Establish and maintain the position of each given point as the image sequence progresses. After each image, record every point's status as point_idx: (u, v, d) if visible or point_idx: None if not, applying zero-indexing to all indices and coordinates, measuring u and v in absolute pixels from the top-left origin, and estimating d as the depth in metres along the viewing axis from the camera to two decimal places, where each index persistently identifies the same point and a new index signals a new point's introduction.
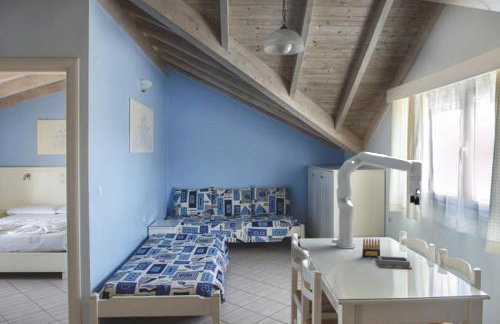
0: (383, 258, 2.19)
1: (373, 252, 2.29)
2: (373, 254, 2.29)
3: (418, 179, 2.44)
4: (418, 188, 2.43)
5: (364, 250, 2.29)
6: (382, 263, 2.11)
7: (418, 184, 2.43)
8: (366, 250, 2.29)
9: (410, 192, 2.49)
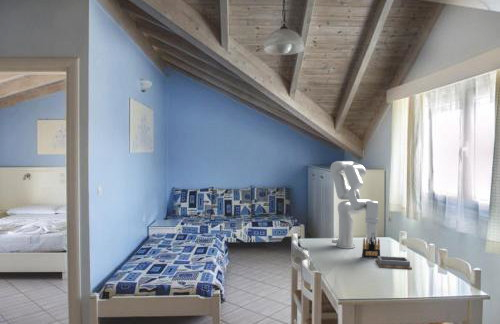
0: (383, 258, 2.19)
1: (373, 252, 2.29)
2: (373, 254, 2.29)
3: (374, 222, 2.26)
4: (374, 234, 2.24)
5: (364, 250, 2.29)
6: (382, 263, 2.11)
7: (374, 227, 2.25)
8: (366, 250, 2.29)
9: (366, 235, 2.30)
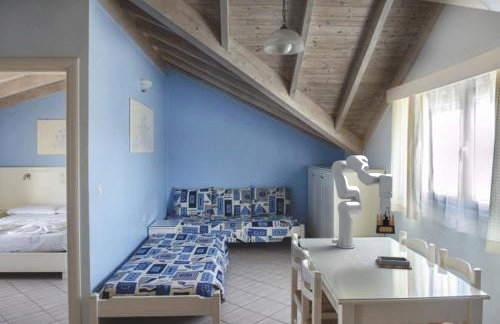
0: (383, 258, 2.19)
1: (387, 228, 2.19)
2: (387, 230, 2.19)
3: (388, 196, 2.16)
4: (388, 208, 2.15)
5: (378, 226, 2.19)
6: (382, 263, 2.11)
7: (388, 201, 2.15)
8: (380, 226, 2.19)
9: (380, 210, 2.20)
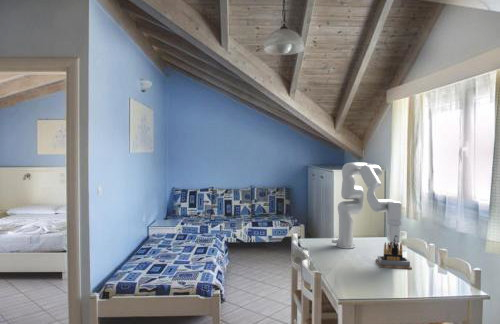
0: None
1: (395, 257, 2.14)
2: (395, 260, 2.14)
3: (397, 224, 2.10)
4: (397, 235, 2.09)
5: (385, 255, 2.14)
6: (382, 263, 2.11)
7: (397, 230, 2.09)
8: (387, 255, 2.14)
9: (388, 238, 2.15)
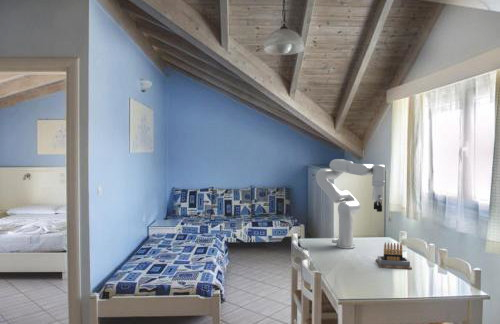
0: None
1: (395, 257, 2.14)
2: (395, 260, 2.14)
3: (381, 184, 2.32)
4: (380, 194, 2.31)
5: (385, 255, 2.14)
6: (382, 263, 2.11)
7: (381, 190, 2.31)
8: (387, 255, 2.14)
9: (373, 198, 2.37)
